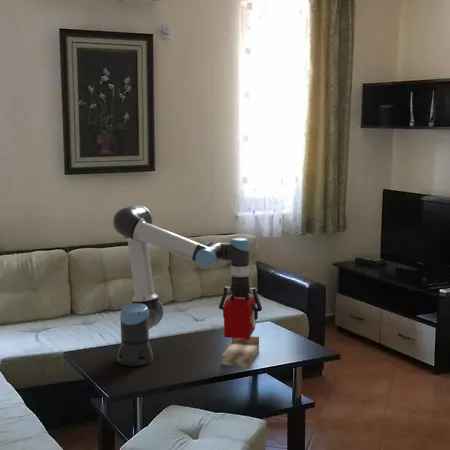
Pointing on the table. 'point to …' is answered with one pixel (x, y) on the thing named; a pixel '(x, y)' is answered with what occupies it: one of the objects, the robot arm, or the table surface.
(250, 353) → the wooden toy bed
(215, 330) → the table surface
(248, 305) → the fire alarm
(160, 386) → the table surface
